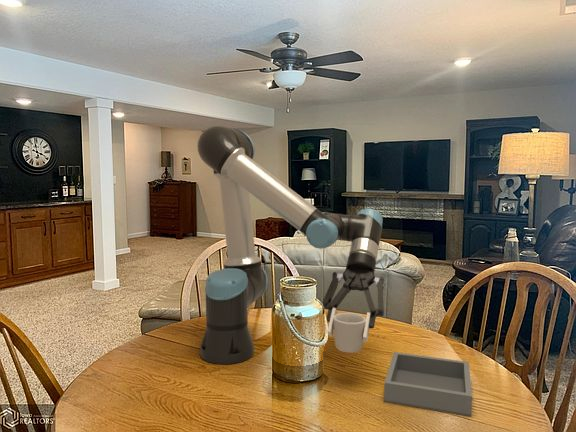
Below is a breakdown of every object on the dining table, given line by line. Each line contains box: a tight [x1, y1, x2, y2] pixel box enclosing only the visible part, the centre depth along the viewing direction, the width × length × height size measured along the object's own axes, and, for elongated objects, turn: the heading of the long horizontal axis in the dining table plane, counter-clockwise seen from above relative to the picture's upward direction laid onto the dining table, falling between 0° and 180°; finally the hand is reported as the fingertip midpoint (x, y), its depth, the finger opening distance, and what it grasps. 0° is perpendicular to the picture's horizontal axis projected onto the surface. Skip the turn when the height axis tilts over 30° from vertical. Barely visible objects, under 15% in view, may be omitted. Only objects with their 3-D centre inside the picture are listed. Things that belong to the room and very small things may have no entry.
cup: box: [333, 312, 366, 354], centre depth 113 cm, size 11×8×8 cm
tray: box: [383, 351, 473, 417], centre depth 109 cm, size 18×18×4 cm
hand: (347, 336), depth 110 cm, fingers closed on cup, 8 cm apart
